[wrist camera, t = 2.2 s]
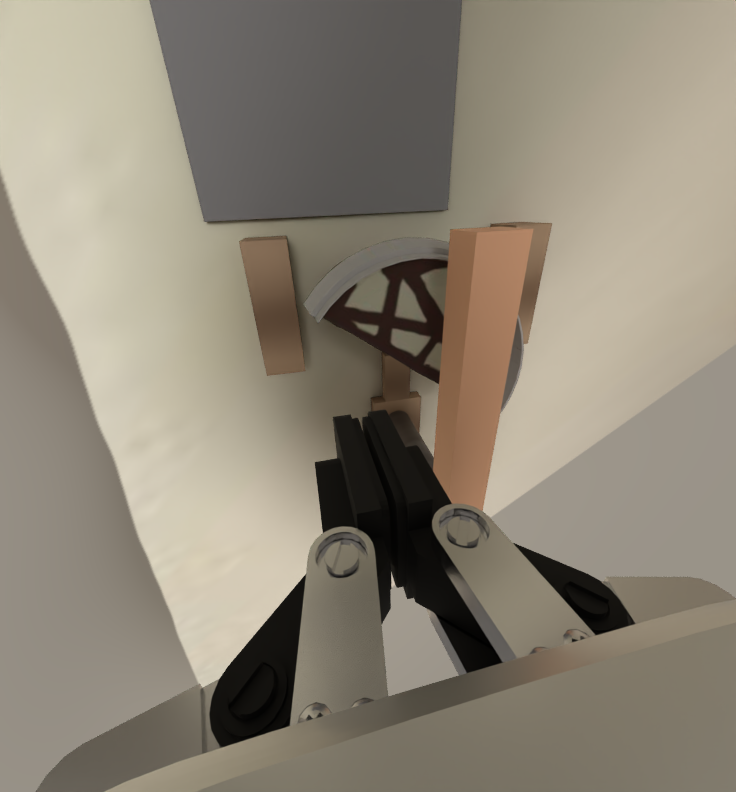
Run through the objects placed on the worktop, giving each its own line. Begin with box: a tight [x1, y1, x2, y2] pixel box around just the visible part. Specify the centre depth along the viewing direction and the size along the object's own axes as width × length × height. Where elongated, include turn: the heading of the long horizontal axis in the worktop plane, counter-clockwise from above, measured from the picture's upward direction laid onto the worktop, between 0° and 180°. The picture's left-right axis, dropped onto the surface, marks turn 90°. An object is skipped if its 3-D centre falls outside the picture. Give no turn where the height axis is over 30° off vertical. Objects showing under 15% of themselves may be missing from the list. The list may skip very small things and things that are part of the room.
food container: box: [304, 238, 524, 413], centre depth 20 cm, size 12×6×10 cm, turn 57°
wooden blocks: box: [239, 222, 552, 470], centre depth 22 cm, size 16×19×10 cm
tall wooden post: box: [433, 227, 533, 511], centre depth 16 cm, size 16×3×2 cm, turn 3°
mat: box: [150, 0, 462, 222], centre depth 18 cm, size 10×15×1 cm, turn 93°
